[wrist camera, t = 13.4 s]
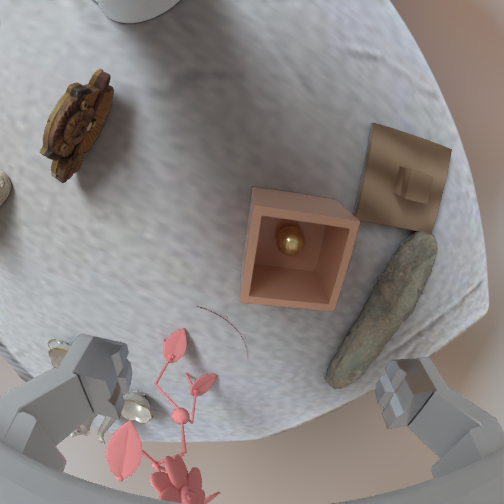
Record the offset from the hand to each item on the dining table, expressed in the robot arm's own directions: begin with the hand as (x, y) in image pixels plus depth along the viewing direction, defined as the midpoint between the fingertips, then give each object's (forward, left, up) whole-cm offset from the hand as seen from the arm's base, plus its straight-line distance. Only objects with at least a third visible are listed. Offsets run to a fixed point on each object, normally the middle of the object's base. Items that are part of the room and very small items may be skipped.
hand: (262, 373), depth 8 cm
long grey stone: (+20, +25, -35) cm, 48 cm away
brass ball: (+7, +6, -31) cm, 33 cm away
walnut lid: (-4, +22, -34) cm, 41 cm away
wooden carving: (-6, -24, -35) cm, 42 cm away
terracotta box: (+7, +6, -34) cm, 36 cm away
